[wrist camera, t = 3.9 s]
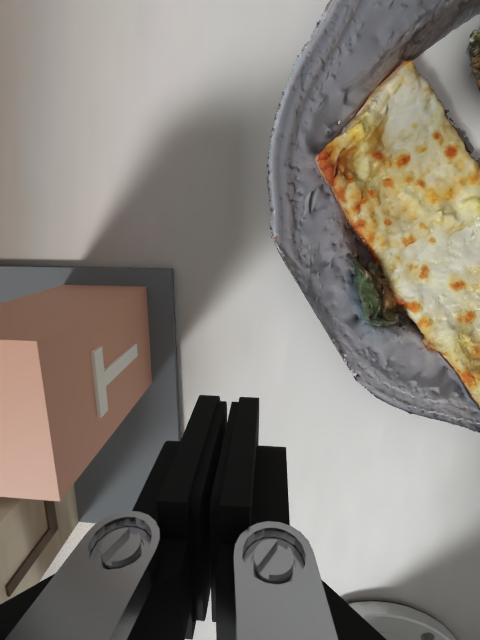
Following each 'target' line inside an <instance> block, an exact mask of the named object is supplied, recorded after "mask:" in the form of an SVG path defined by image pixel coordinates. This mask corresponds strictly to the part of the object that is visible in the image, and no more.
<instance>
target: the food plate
mask: <svg viewBox="0 0 480 640" xmlns="http://www.w3.org/2000/svg"><path fill="white" fill-rule="evenodd" d="M479 13H480V0H330V2H328V4H327V6H326V9H325V11H324V15H323V14H322V20H319V22H317V27H316V28H315V29H314V31H313V34H312V37H311V38H312V39H311V40H310V41H309V42H307V45H306V44H305V46H304V47H303V49H302V53H301V55H299V56H298V59H297V62H296V64H294V68H293V71H292V73H291V76H290V79H288V84H287V85H286V87H285V88H284V90H283V92H282V95H283V97H282V101H281V102H280V104H279V108H278V111H277V112H278V113H277V114H276V115H275V122H276V123H275V124H274V126H273V128H272V131H271V132H272V136H270V137H271V140H270V142H271V143H270V149H269V150H270V152H269V157H268V159H269V161H268V164H267V167H268V170H269V171H268V176H267V181H268V182H267V183H269V184H268V190H269V197H270V198H269V199H270V200H269V201H270V210H271V213H270V214H271V215H270V216H271V219H270V221H271V222H270V229H271V230H272V232H271V233H272V236H273V237H274V239H275V243H277V244H279V245H278V246H279V248H280V250H281V252H282V253H280V252H279V254H280V255H281V254H282V255H281V257H282V256H283V255H284V256H283V257H282V259H283V261H284V262H285V261H286V262H285V264H286V263H287V264H286V266H287V267H288V269H289V271H290V270H291V271H290V272H291V274H292V275H294V276H293V277H294V279H295V281H296V280H297V281H296V282H297V284H298V285H300V286H299V287H300V289H301V290H302V292H304V295H305V297H306V299H307V300H308V302H309V304H310V305H311V307H312V308H313V310H314V312H315V314H316V316H317V317H318V319H319V320H320V322H321V323H322V325H323V327H324V328H325V330H326V332H327V333H328V335H329V337H330V339H331V340H333V341H332V342H334V343H333V344H334V345H336V346H335V347H336V348H338V349H337V350H338V352H339V353H340V355H341V357H342V358H343V360H344V358H345V361H346V362H347V364H346V365H347V367H348V368H349V370H353V371H352V372H353V373H357V375H356V377H355V376H354V378H355V380H356V381H358V382H359V383H360V384H362V386H365V388H367V390H368V391H370V393H371V394H374V396H375V397H377V398H378V399H380V400H382V401H384V402H386V403H388V404H390V405H392V406H394V407H397V408H399V409H402V410H404V411H406V412H408V413H410V414H417V415H420V416H424V417H428V418H431V419H436V420H440V421H445V422H449V423H451V424H455V425H459V426H461V427H466V428H468V429H470V430H473V431H477V432H480V158H479V159H478V160H477V161H476V160H475V158H472V157H471V156H470V154H471V153H472V151H473V149H474V148H473V146H472V145H471V144H470V143H469V141H468V140H469V139H468V137H465V138H464V135H465V134H466V133H465V131H461V130H460V129H459V128H455V127H454V126H453V125H451V124H450V122H449V120H448V117H447V115H446V113H447V112H449V111H448V110H444V106H443V105H442V104H441V101H439V100H438V99H437V96H436V94H435V93H434V91H433V90H432V89H431V88H430V85H429V83H428V82H427V81H426V80H427V79H426V80H425V79H424V78H423V77H422V76H421V75H420V74H418V73H417V72H416V68H415V65H414V63H413V61H412V60H413V59H415V58H417V57H418V56H419V55H420V54H421V53H422V52H424V51H425V50H426V49H428V48H430V47H431V46H432V45H434V44H435V43H436V42H438V41H439V40H441V39H442V38H443V37H445V36H446V35H447V34H448V33H450V32H451V31H452V30H453V29H456V28H458V27H459V26H460V25H461V24H463V23H465V22H467V21H468V20H470V19H471V18H472V17H474V16H475V15H477V14H479ZM469 41H470V43H469V46H468V48H467V51H466V53H467V55H468V57H469V59H470V60H471V64H470V66H471V68H472V73H471V75H470V76H471V77H472V78H473V79H475V81H476V83H477V86H478V90H479V92H480V32H478V31H477V30H474V31H473V32H472V34H471V35H470V39H469ZM339 120H340V121H341V123H340V124H338V123H337V122H338V121H339ZM450 120H451V121H452V122H453V120H452V119H451V118H450ZM454 124H455V123H454ZM272 240H273V239H272ZM277 249H278V248H277ZM278 251H279V250H278ZM284 259H285V260H284ZM345 361H344V362H345ZM346 362H345V363H346ZM352 375H353V374H352Z"/></svg>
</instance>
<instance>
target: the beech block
mask: <svg viewBox="0 0 480 640" xmlns="http://www.w3.org/2000/svg"><path fill="white" fill-rule="evenodd" d="M78 522H79V520H78V512H77V504H76V497H75V489H74V484H73V485H72V487H71V488H70V489H69V491H68V492H67V493H66V494H65V496H64V497H63V498H62V500H61V501H48V500H35V499H23V498H10V497H0V604H2V603H4V602H5V601H7V600H9V599H11V598H13V597H14V596H16V595H18V594H20V593H21V592H23V591H25V590H27V589H29V588H30V587H32V586H34V585H36V584H38V582H39V581H40V579H41V578H42V576H43V575H44V573H45V572H46V570H47V569H48V567H49V566H50V564H51V563H52V561H53V560H54V558H55V557H56V555H57V554H58V552H59V551H60V549H61V548H62V546H63V545H64V543H65V542H66V540H67V539H68V537H69V536H70V534H71V533H72V531H73V530H74V528H75V527H76V525H77V524H78Z"/></svg>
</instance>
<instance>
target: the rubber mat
mask: <svg viewBox="0 0 480 640" xmlns="http://www.w3.org/2000/svg"><path fill="white" fill-rule="evenodd" d="M61 285H99V286H143V287H146V291H147V307H148V323H149V340H150V356H151V372H152V384H151V385H150V386H149V388H148V389H147V390H146V391H145V393H144V394H143V395H142V397H141V398H140V399H139V400H138V402H137V403H136V404H135V406H134V407H133V408H132V409H131V411H130V412H129V413H128V415H127V416H126V417H125V418H124V420H123V421H122V422H121V424H120V425H119V426H118V427H117V429H116V430H115V431H114V433H113V434H112V435H111V436H110V438H109V439H108V440H107V442H106V443H105V444H104V445H103V447H102V448H101V449H100V451H99V452H98V453H97V455H96V456H95V457H94V458H93V460H92V461H91V462H90V464H89V465H88V466H87V467H86V469H85V470H84V471H83V473H82V474H81V475H80V476H79V478H78V479H77V480H76V482H75V483H74V489H75V497H76V504H77V512H78V520H79V522H89V523H98V522H100V521H101V520H103V519H104V518H106V517H108V516H111V515H113V514H116V513H119V512H125V511H132V510H133V508H134V506H135V503H136V501H137V499H138V497H139V495H140V493H141V491H142V489H143V487H144V484H145V482H146V480H147V478H148V476H149V474H150V472H151V470H152V468H153V466H154V463H155V461H156V459H157V457H158V455H159V453H160V451H161V449H162V447H163V445H164V443H165V442H166V441H180V424H179V401H178V377H177V353H176V329H175V306H174V282H173V269H160V268H104V267H48V266H0V303H4V302H7V301H10V300H14V299H17V298H20V297H24V296H27V295H31V294H34V293H37V292H41V291H44V290H47V289H51V288H54V287H57V286H61Z"/></svg>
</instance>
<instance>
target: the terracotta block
mask: <svg viewBox="0 0 480 640" xmlns="http://www.w3.org/2000/svg"><path fill="white" fill-rule="evenodd" d="M151 384H152V372H151V356H150V340H149V323H148V307H147V291H146V287H143V286H99V285H61V286H57V287H54V288H51V289H47V290H44V291H41V292H37V293H34V294H31V295H27V296H24V297H20V298H17V299H14V300H10V301H7V302H4V303H0V497H10V498H23V499H35V500H48V501H61V500H62V498H63V497H64V496H65V494H66V493H67V492H68V491H69V489H70V488H71V487H72V485H73V484H74V483H75V482H76V480H77V479H78V478H79V476H80V475H81V474H82V473H83V471H84V470H85V469H86V467H87V466H88V465H89V464H90V462H91V461H92V460H93V458H94V457H95V456H96V455H97V453H98V452H99V451H100V449H101V448H102V447H103V445H104V444H105V443H106V442H107V440H108V439H109V438H110V436H111V435H112V434H113V433H114V431H115V430H116V429H117V427H118V426H119V425H120V424H121V422H122V421H123V420H124V418H125V417H126V416H127V415H128V413H129V412H130V411H131V409H132V408H133V407H134V406H135V404H136V403H137V402H138V400H139V399H140V398H141V397H142V395H143V394H144V393H145V391H146V390H147V389H148V388H149V386H150V385H151Z"/></svg>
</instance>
